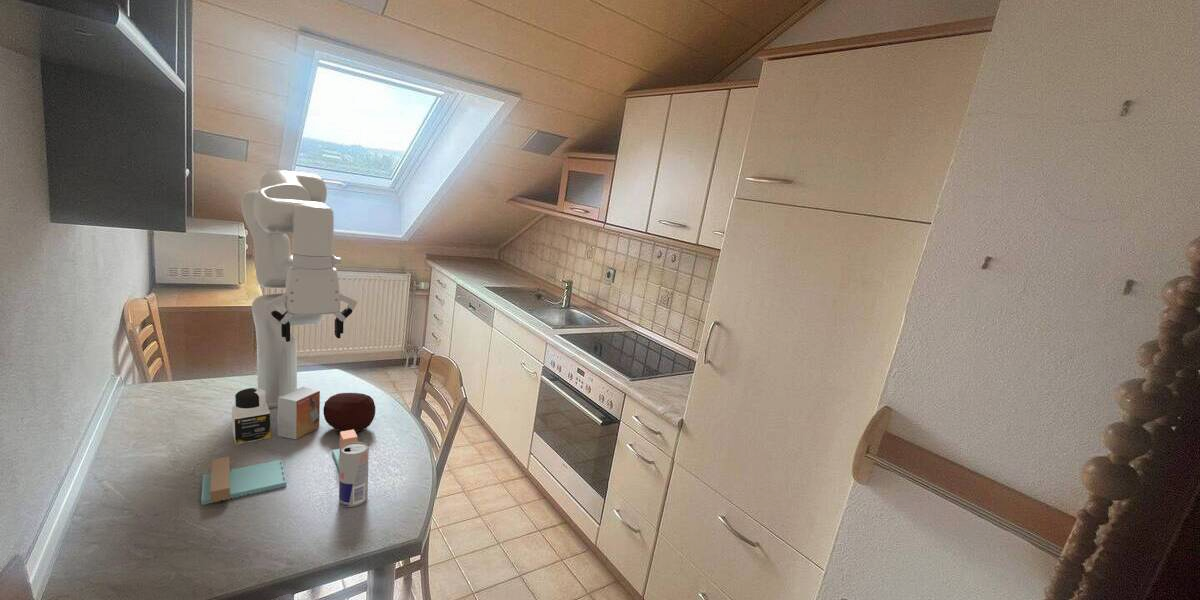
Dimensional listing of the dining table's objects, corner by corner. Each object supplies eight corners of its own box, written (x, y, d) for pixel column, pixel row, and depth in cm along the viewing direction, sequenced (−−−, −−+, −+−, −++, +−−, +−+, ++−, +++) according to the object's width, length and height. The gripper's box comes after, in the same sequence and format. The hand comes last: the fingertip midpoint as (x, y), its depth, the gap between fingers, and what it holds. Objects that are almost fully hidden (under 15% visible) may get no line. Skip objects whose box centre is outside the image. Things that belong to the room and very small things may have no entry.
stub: (332, 453, 117) (332, 427, 115) (355, 449, 120) (355, 423, 119) (340, 474, 109) (340, 446, 108) (364, 469, 112) (364, 441, 111)
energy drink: (340, 494, 102) (340, 442, 100) (368, 490, 105) (369, 440, 102) (337, 509, 98) (338, 455, 95) (366, 505, 100) (368, 453, 97)
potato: (337, 417, 134) (338, 382, 132) (383, 424, 134) (384, 389, 132) (312, 436, 124) (312, 398, 121) (361, 443, 123) (362, 405, 121)
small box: (296, 440, 121) (295, 401, 119) (277, 436, 122) (276, 397, 120) (320, 427, 128) (320, 390, 126) (302, 422, 129) (302, 386, 127)
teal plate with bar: (203, 475, 103) (202, 461, 102) (281, 460, 112) (281, 447, 111) (201, 509, 93) (200, 493, 92) (286, 490, 102) (286, 475, 101)
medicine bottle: (235, 445, 115) (233, 398, 113) (232, 432, 121) (230, 388, 118) (271, 438, 120) (270, 393, 118) (266, 426, 125) (265, 383, 123)
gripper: (353, 260, 112) (352, 331, 115) (263, 258, 101) (264, 336, 104) (361, 266, 106) (359, 340, 109) (265, 264, 95) (267, 346, 99)
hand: (313, 338), depth 107 cm, fingers open, 9 cm apart
